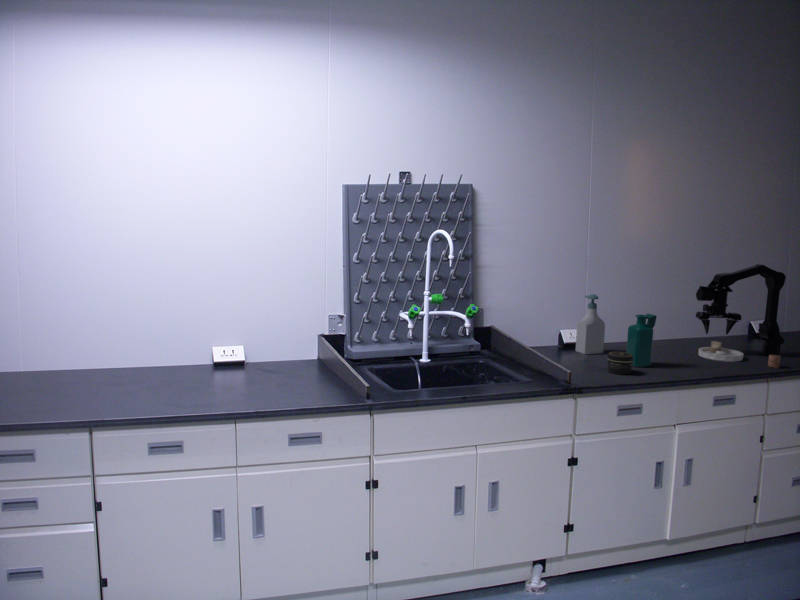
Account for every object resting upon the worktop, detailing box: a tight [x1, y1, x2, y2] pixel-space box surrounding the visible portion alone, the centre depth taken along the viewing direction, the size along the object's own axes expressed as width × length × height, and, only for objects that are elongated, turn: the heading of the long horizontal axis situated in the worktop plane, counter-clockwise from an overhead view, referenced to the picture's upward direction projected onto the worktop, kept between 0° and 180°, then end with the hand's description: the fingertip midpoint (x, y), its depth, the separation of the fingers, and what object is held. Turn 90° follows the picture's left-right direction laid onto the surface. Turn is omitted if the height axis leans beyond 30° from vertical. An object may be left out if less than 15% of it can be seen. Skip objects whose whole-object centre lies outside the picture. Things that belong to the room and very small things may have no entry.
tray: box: [697, 346, 745, 363], centre depth 290 cm, size 18×18×3 cm
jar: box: [606, 351, 633, 376], centre depth 258 cm, size 10×10×8 cm
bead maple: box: [710, 340, 723, 353], centre depth 295 cm, size 4×4×5 cm
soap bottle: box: [575, 293, 606, 355], centre depth 293 cm, size 11×8×27 cm
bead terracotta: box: [767, 355, 782, 369], centre depth 273 cm, size 4×4×5 cm
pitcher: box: [625, 313, 657, 368], centre depth 270 cm, size 10×8×22 cm
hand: (716, 334), depth 294 cm, fingers open, 9 cm apart
